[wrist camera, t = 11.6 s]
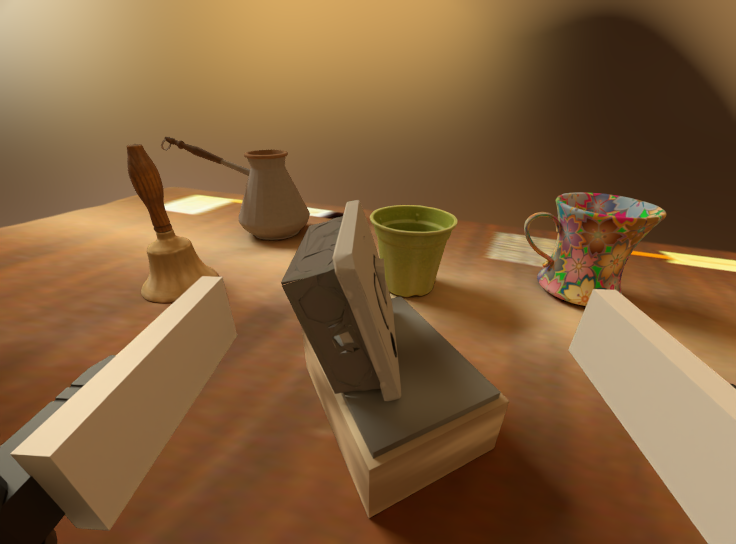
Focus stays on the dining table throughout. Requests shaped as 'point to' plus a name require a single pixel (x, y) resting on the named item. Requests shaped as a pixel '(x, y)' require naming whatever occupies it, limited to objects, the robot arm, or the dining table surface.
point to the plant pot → (411, 245)
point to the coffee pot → (264, 193)
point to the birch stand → (411, 415)
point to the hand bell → (163, 237)
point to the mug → (592, 242)
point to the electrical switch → (346, 304)
